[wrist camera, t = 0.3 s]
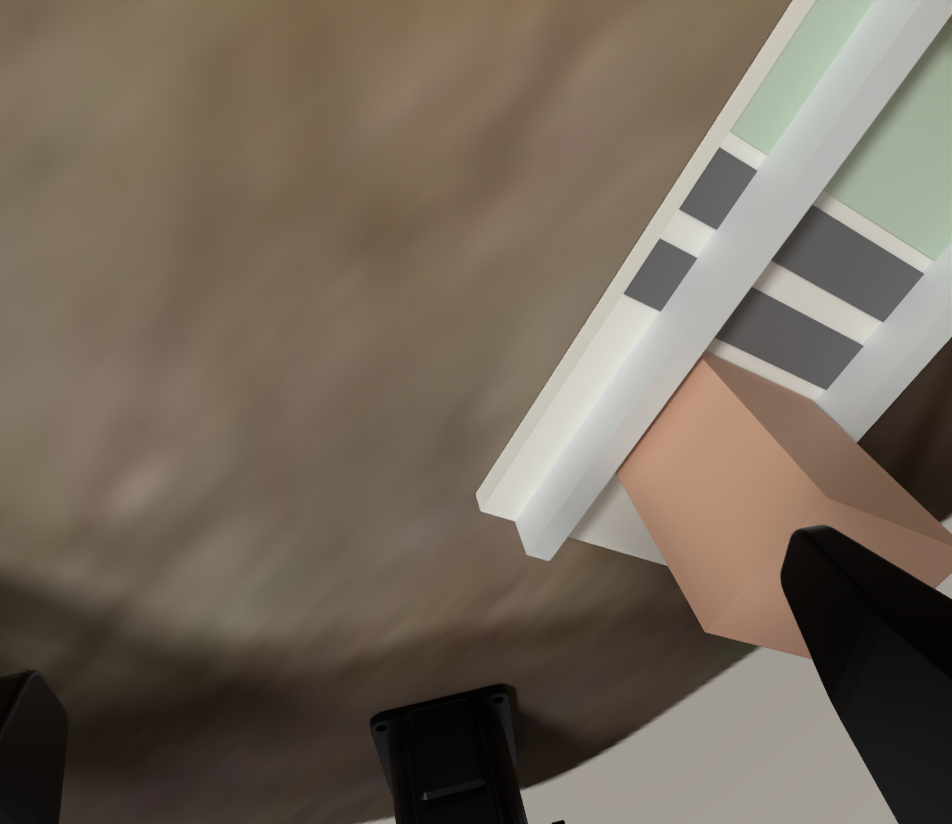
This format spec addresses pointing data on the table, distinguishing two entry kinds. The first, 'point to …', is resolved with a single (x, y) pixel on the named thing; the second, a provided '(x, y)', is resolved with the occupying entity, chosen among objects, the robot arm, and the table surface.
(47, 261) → the table surface
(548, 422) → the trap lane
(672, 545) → the slider block
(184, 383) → the table surface
